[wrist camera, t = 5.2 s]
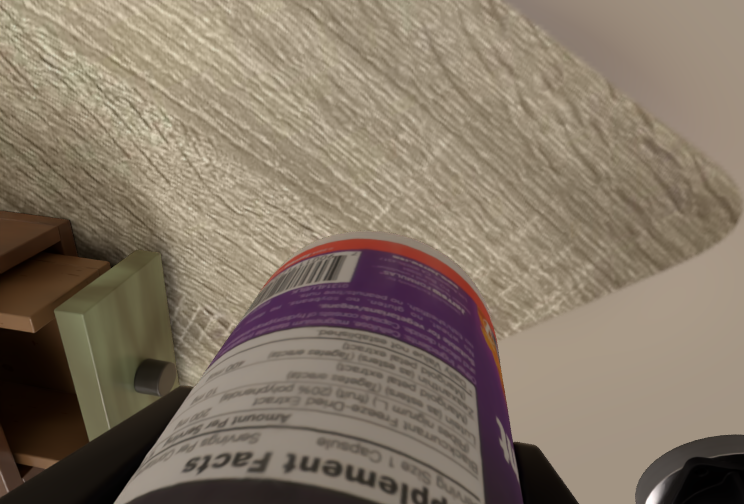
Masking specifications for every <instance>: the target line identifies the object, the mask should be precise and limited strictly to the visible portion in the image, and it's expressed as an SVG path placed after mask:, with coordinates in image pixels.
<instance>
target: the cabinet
mask: <svg viewBox="0 0 744 504" xmlns="http://www.w3.org/2000/svg"><path fill="white" fill-rule="evenodd" d="M39 252H46V253H53V254H60V255H67V256H74V257H78V255H77V251H76V246H75V242H74V238H73V233H72V229H71V225H70V221H69V220H66V219H59V218H52V217H44V216H37V215H30V214H22V213H15V212H8V211H0V274H2V273H3V272H5V271H7V270H9V269H11V268H12V267H14V266H16V265H18V264H20V263H21V262H23V261H25V260H27V259H29V258H30V257H32V256H34V255H36V254H38V253H39ZM43 470H44V468H39V467H34V466H29V465H23V464H18V463H15V460H14V458H13V455H12V452H11V450H10V447H9V444H8V442H7V439H6V437H5V434H4V431H3V429H2V426H1V423H0V497H2V496H4V495H5V494H7V493H8V492H10V491H12V490H13V489H15V488H16V487H18V486H20V485H21V484H23V483H25V482H26V481H28V480H29V479H31V478H33V477H34V476H36V475H37V474H39V473H41V472H42V471H43Z"/></svg>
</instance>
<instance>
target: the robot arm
mask: <svg viewBox="0 0 744 504" xmlns="http://www.w3.org/2000/svg"><path fill="white" fill-rule="evenodd" d="M193 388H194V387H191V386H179V387H177V388H175V389H174V390H172V391H171V392H169V393H167V394H166V395H164V396H163V397H161V398H159V399H158V400H156V401H155V402H153V403H151V404H150V405H148V406H147V407H145V408H143V409H142V410H140V411H139V412H137V413H135V414H134V415H132V416H130V417H129V418H127V419H126V420H124V421H122V422H121V423H119V424H118V425H116V426H114V427H113V428H111V429H110V430H108V431H106V432H105V433H103V434H102V435H100V436H98V437H97V438H95V439H94V440H92V441H90V442H89V443H87V444H86V445H84V446H82V447H81V448H79V449H77V450H76V451H74V452H73V453H71V454H69V455H68V456H66V457H65V458H63V459H61V460H60V461H58V462H57V463H55V464H53V465H52V466H50V467H49V468H47V469H45V470H44V471H42V472H41V473H39V474H37V475H36V476H34V477H33V478H31V479H29V480H28V481H26V482H25V483H23V484H21V485H20V486H18V487H16V488H15V489H13V490H12V491H10V492H8V493H7V494H5V495H4V496H2V497H0V504H114V502H115V501H116V499H117V498H118V496H119V495H120V493H121V492H122V490H123V489H124V488H125V486H126V485H127V483H128V482H129V481H130V479H131V478H132V476H133V475H134V474H135V472H136V471H137V470H138V468H139V467H140V465H141V464H142V462H143V460H144V458H145V457H146V455H147V454H148V452H149V451H150V450H151V449H152V447H153V446H154V445H155V444H156V442H157V440H158V439H159V437H160V436H161V434H162V433H163V431H164V430H165V428H166V427H167V425H168V424H169V423H170V421H171V420H172V418H173V417H174V415H175V414H176V412H177V411H178V409H179V408H180V407H181V405H182V404H183V402H184V401H185V399H186V398H187V396H188V395H189V393H190V392H191V390H192V389H193ZM513 446H514V452H515V458H516V463H517V469H518V475H519V482H520V488H521V493H522V499H523V503H524V504H579V503H578V502H577V500H576V499H575V497H574V496H573V495H572V493H571V492H570V490H569V489H568V488H567V486H566V485H565V484H564V482H563V481H562V479H561V478H560V477H559V475H558V474H557V472H556V471H555V470H554V468H553V467H552V465H551V464H550V463H549V461H548V460H547V458H546V457H545V456H544V454H543V453H542V451H541V450H540V449H539V448H538V447H537V446H535V445H532V444H526V443H520V442H513ZM663 504H744V464H742V463H736V462H730V461H724V460H718V459H712V458H706V457H692V458H690V459H688V460H687V461H686V462H685V464H684V466H683V468H682V470H681V472H680V473H679V475H678V477H677V479H676V481H675V483H674V485H673V486H672V488H671V490H670V492H669V494H668V496H667V497H666V499H665V501H664V503H663Z"/></svg>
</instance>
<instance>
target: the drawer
mask: <svg viewBox="0 0 744 504" xmlns="http://www.w3.org/2000/svg"><path fill="white" fill-rule="evenodd" d="M177 387H179V381H178V374H177V367H176V360H175V353H174V346H173V339H172V332H171V325H170V318H169V311H168V303H167V296H166V289H165V282H164V275H163V268H162V261H161V254H160V253H158V252H151V251H144V250H136V251H135V252H133V253H132V254H130V255H129V256H128V257H126V258H125V259H123V260H122V261H121V262H119V263H118V264H117V265H115V266H114V267H112V268H111V267H110V262H108V261H102V260H95V259H88V258H81V257H74V256H67V255H60V254H53V253H46V252H39V253H38V254H36V255H34V256H32V257H30V258H29V259H27V260H25V261H23V262H21V263H20V264H18V265H16V266H14V267H12V268H11V269H9V270H7V271H5V272H3V273H2V274H0V423H1V426H2V429H3V431H4V434H5V437H6V439H7V442H8V444H9V447H10V450H11V452H12V455H13V458H14V460H15V463H18V464H23V465H29V466H34V467H39V468H44V469H47V468H49V467H50V466H52V465H53V464H55V463H57V462H58V461H60V460H61V459H63V458H65V457H66V456H68V455H69V454H71V453H73V452H74V451H76V450H77V449H79V448H81V447H82V446H84V445H86V444H87V443H89V442H90V441H92V440H94V439H95V438H97V437H98V436H100V435H102V434H103V433H105V432H106V431H108V430H110V429H111V428H113V427H114V426H116V425H118V424H119V423H121V422H122V421H124V420H126V419H127V418H129V417H130V416H132V415H134V414H135V413H137V412H139V411H140V410H142V409H143V408H145V407H147V406H148V405H150V404H151V403H153V402H155V401H156V400H158V399H159V398H161V397H163V396H164V395H166V394H167V393H169V392H171V391H172V390H174V389H175V388H177Z"/></svg>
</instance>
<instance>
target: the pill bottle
mask: <svg viewBox="0 0 744 504" xmlns="http://www.w3.org/2000/svg"><path fill="white" fill-rule="evenodd" d="M114 504H524V503H523V499H522V493H521V488H520V482H519V475H518V469H517V463H516V458H515V452H514V446H513V440H512V434H511V428H510V421H509V415H508V409H507V402H506V396H505V390H504V385H503V379H502V373H501V366H500V359H499V352H498V345H497V339H496V335H495V331H494V326H493V322H492V319H491V315H490V312H489V309H488V307H487V304H486V302H485V300H484V298H483V296H482V294H481V293H480V291H479V289H478V288H477V286H476V285H475V283H474V282H473V281H472V279H471V278H470V277H469V276H468V274H467V273H466V272H465V271H464V270H463V269H462V268H461V267H460V266H459V265H458V264H456V263H455V262H454V261H453V260H452V259H450V258H449V257H447V256H446V255H444V254H443V253H441V252H440V251H438V250H437V249H435V248H433V247H431V246H429V245H427V244H425V243H423V242H420V241H418V240H415V239H413V238H410V237H406V236H402V235H398V234H394V233H388V232H381V231H352V232H345V233H340V234H335V235H331V236H328V237H325V238H322V239H319V240H317V241H314V242H312V243H310V244H308V245H307V246H305V247H303V248H301V249H300V250H298V251H297V252H295V253H294V254H293V255H292V256H290V257H289V258H288V259H287V260H286V261H285V262H284V263H283V264H282V265H281V266H280V267H279V268H278V269H277V271H276V272H275V273H274V274H273V275H272V277H271V278H270V279H269V280H268V281H267V283H266V284H265V285H264V287H263V288H262V289H261V291H260V293H259V294H258V296H257V297H256V298H255V300H254V301H253V303H252V304H251V306H250V307H249V309H248V310H247V312H246V313H245V315H244V316H243V317H242V319H241V320H240V322H239V323H238V325H237V326H236V328H235V329H234V331H233V332H232V333H231V335H230V336H229V338H228V339H227V341H226V342H225V343H224V345H223V346H222V348H221V349H220V351H219V352H218V353H217V355H216V356H215V358H214V359H213V361H212V362H211V364H210V365H209V367H208V368H207V370H206V371H205V372H204V374H203V375H202V377H201V378H200V380H199V381H198V383H197V384H196V385H195V386H194V388H193V389H192V390H191V392H190V393H189V395H188V396H187V398H186V399H185V401H184V402H183V404H182V405H181V407H180V408H179V409H178V411H177V412H176V414H175V415H174V417H173V418H172V420H171V421H170V423H169V424H168V425H167V427H166V428H165V430H164V431H163V433H162V434H161V436H160V437H159V439H158V440H157V442H156V444H155V445H154V446H153V447H152V449H151V450H150V451H149V452H148V454H147V455H146V457H145V458H144V460H143V462H142V464H141V465H140V467H139V468H138V470H137V471H136V472H135V474H134V475H133V476H132V478H131V479H130V481H129V482H128V483H127V485H126V486H125V488H124V489H123V490H122V492H121V493H120V495H119V496H118V498H117V499H116V501H115V502H114Z"/></svg>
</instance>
